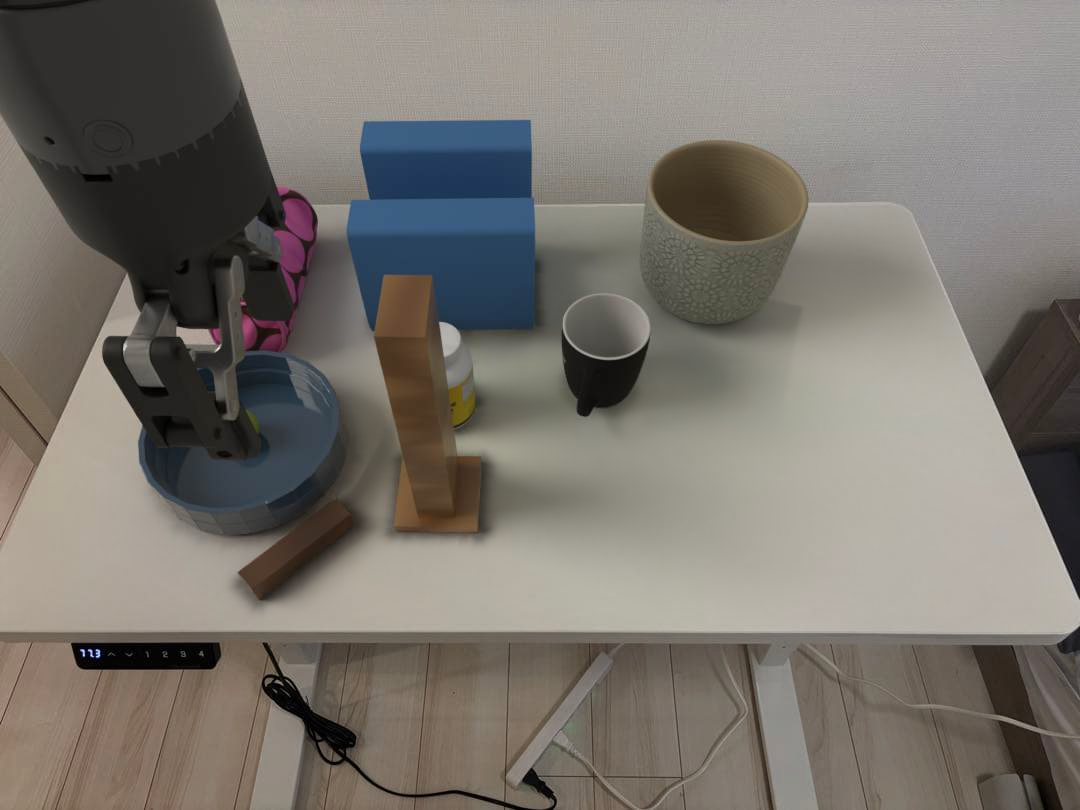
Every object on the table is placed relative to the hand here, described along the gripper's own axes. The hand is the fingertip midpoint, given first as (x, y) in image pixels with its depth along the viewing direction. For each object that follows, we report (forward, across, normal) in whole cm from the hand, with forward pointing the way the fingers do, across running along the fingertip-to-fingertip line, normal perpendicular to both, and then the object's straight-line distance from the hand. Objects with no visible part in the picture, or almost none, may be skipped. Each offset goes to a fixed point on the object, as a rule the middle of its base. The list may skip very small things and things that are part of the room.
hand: (257, 380), depth 40 cm
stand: (+38, -14, +4) cm, 41 cm away
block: (+38, -42, +4) cm, 57 cm away
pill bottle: (+38, -25, +4) cm, 46 cm away
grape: (+36, -21, -16) cm, 44 cm away
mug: (+38, -27, +21) cm, 51 cm away
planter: (+38, -43, +34) cm, 67 cm away
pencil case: (+38, -41, -17) cm, 59 cm away
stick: (+36, -8, -8) cm, 38 cm away
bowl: (+38, -19, -15) cm, 45 cm away
